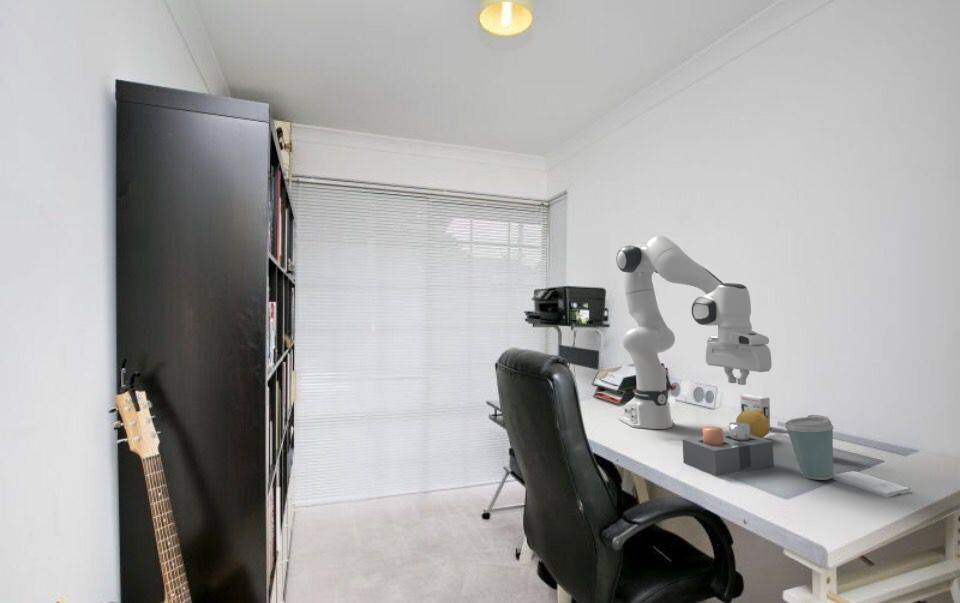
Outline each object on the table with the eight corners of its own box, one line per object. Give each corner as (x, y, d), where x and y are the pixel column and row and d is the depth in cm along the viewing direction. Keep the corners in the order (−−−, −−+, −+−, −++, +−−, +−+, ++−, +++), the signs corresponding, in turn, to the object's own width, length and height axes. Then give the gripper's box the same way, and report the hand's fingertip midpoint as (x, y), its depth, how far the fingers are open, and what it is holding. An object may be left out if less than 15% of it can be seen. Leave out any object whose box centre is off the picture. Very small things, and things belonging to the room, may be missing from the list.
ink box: (740, 425, 171) (738, 394, 171) (749, 424, 173) (747, 393, 174) (762, 431, 163) (760, 398, 163) (771, 429, 165) (770, 397, 166)
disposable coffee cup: (803, 483, 115) (793, 424, 116) (785, 470, 126) (776, 416, 127) (851, 482, 113) (840, 422, 114) (828, 468, 123) (819, 413, 124)
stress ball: (733, 441, 156) (741, 428, 148) (731, 415, 162) (739, 402, 154) (765, 447, 153) (776, 434, 146) (762, 421, 159) (772, 407, 151)
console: (683, 462, 134) (682, 439, 134) (738, 453, 140) (737, 431, 140) (715, 476, 122) (714, 450, 122) (773, 465, 128) (772, 441, 129)
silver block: (726, 447, 134) (725, 423, 134) (739, 444, 136) (738, 421, 136) (741, 452, 129) (739, 427, 129) (754, 449, 131) (753, 425, 131)
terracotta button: (699, 451, 131) (698, 427, 131) (713, 449, 133) (712, 425, 133) (713, 456, 126) (712, 431, 126) (728, 454, 128) (726, 429, 128)
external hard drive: (855, 476, 120) (911, 494, 108) (832, 480, 118) (887, 499, 106) (854, 470, 120) (910, 487, 108) (832, 474, 118) (886, 492, 106)
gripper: (699, 336, 142) (701, 379, 142) (757, 339, 123) (759, 390, 123) (715, 335, 144) (717, 378, 144) (774, 338, 125) (776, 388, 124)
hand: (737, 383), depth 133 cm, fingers closed
